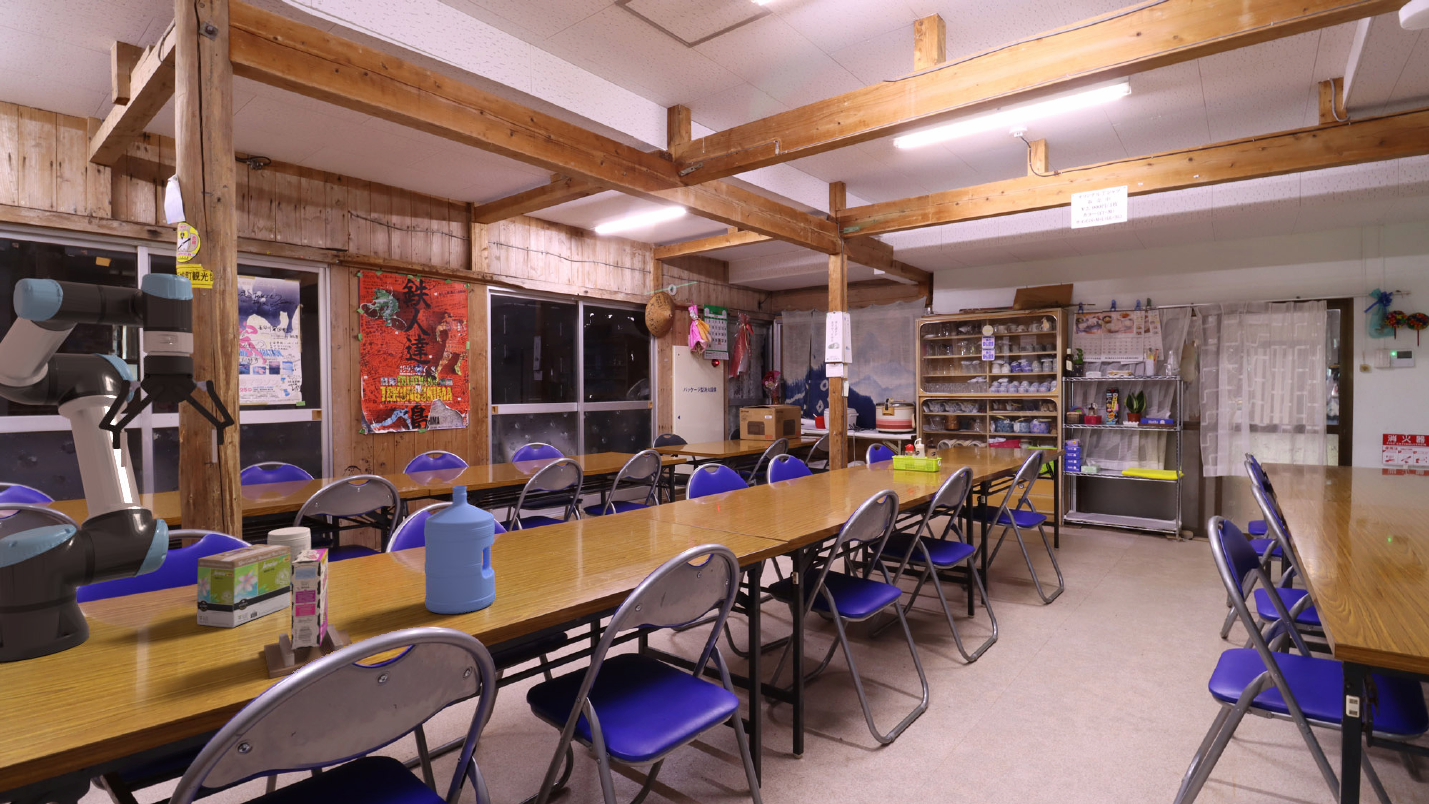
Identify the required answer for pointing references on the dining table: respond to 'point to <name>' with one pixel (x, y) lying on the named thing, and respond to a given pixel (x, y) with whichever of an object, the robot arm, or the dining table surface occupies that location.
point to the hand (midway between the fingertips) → (171, 464)
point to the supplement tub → (291, 541)
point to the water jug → (459, 557)
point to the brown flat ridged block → (301, 652)
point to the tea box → (243, 585)
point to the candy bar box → (309, 599)
